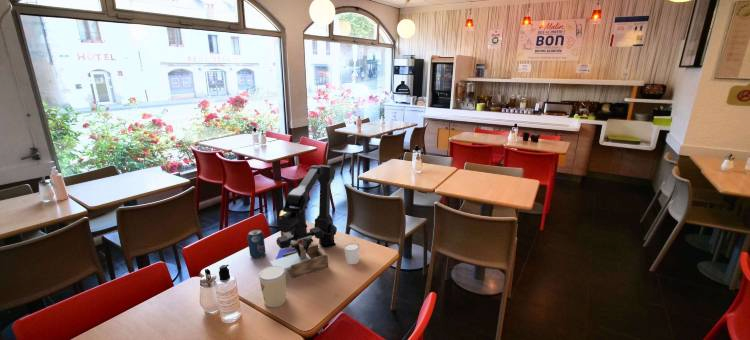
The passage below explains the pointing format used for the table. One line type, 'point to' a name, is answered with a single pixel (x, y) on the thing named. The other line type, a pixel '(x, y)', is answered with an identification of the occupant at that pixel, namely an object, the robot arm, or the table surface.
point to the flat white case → (291, 259)
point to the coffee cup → (273, 285)
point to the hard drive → (283, 252)
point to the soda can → (256, 243)
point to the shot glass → (352, 253)
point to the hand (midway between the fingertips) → (302, 255)
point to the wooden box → (308, 262)
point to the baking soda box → (287, 232)
